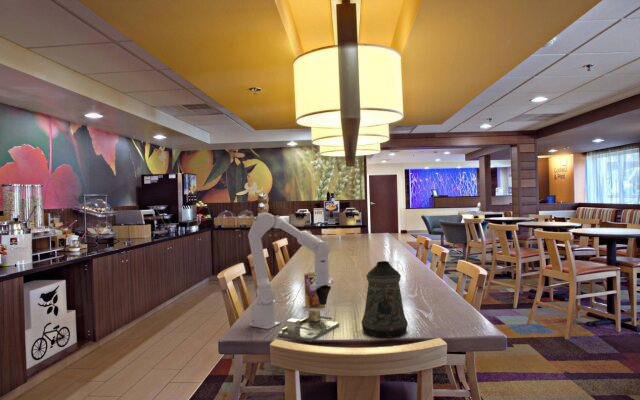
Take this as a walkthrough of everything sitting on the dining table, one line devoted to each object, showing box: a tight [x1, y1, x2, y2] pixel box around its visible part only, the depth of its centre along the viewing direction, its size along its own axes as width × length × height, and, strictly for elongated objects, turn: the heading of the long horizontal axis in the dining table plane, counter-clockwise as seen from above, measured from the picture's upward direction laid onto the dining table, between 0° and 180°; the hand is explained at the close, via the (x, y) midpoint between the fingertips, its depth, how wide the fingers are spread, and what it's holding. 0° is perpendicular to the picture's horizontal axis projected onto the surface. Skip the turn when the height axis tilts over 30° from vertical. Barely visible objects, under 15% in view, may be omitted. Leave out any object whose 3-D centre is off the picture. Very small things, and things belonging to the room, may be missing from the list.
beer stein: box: [361, 260, 409, 340], centre depth 156 cm, size 16×19×25 cm
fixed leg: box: [286, 317, 312, 333], centre depth 153 cm, size 10×3×4 cm, turn 58°
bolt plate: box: [277, 316, 340, 343], centre depth 158 cm, size 14×20×2 cm
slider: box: [307, 307, 333, 321], centre depth 165 cm, size 10×3×4 cm, turn 58°
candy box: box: [303, 271, 326, 309], centre depth 192 cm, size 9×4×15 cm, turn 96°
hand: (323, 304), depth 172 cm, fingers closed
